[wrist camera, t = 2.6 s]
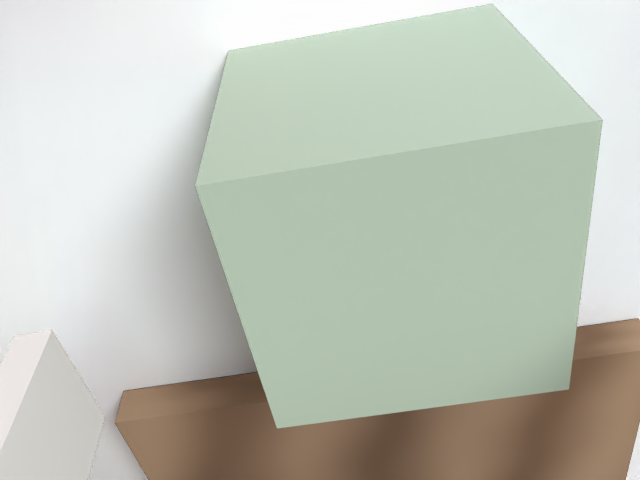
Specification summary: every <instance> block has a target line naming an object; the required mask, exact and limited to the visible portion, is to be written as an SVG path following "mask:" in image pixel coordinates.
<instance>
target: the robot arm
mask: <svg viewBox="0 0 640 480" xmlns="http://www.w3.org/2000/svg"><path fill="white" fill-rule="evenodd" d="M104 421H105V416H104V414H103V413H102V411H101V409H100V408H99V406H98V404H97V403H96V401H95V399H94V398H93V396H92V395H91V393H90V391H89V390H88V388H87V386H86V385H85V383H84V381H83V380H82V378H81V376H80V375H79V373H78V371H77V370H76V368H75V366H74V365H73V363H72V362H71V360H70V358H69V357H68V355H67V353H66V352H65V350H64V348H63V347H62V345H61V343H60V342H59V340H58V338H57V337H56V335H55V333H54V332H53V330H47V331H41V332H35V333H29V334H22V335H16V336H14V337H13V339H12V341H11V344H10V346H9V348H8V350H7V352H6V354H5V356H4V358H3V360H2V362H1V364H0V480H88V478H89V474H90V471H91V467H92V464H93V460H94V456H95V453H96V449H97V446H98V442H99V439H100V435H101V431H102V428H103V424H104Z"/></svg>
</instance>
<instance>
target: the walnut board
mask: <svg viewBox="0 0 640 480" xmlns="http://www.w3.org/2000/svg"><path fill="white" fill-rule="evenodd" d="M639 423H640V320H639V319H631V320H624V321H617V322H610V323H603V324H595V325H588V326H581V327H577V329H576V337H575V345H574V353H573V361H572V369H571V376H570V384H569V390H561V391H554V392H546V393H539V394H531V395H524V396H516V397H509V398H501V399H494V400H486V401H479V402H472V403H464V404H457V405H449V406H442V407H434V408H427V409H419V410H412V411H404V412H397V413H389V414H382V415H374V416H367V417H360V418H352V419H345V420H337V421H330V422H322V423H315V424H307V425H300V426H292V427H285V428H277V427H276V424H275V421H274V418H273V415H272V412H271V409H270V406H269V403H268V400H267V397H266V394H265V391H264V388H263V385H262V382H261V380H260V377H259V374H258V372H255V373H248V374H241V375H234V376H227V377H220V378H213V379H206V380H199V381H191V382H184V383H177V384H170V385H163V386H156V387H149V388H142V389H135V390H128V391H123V395H122V399H121V402H120V406H119V409H118V413H117V416H116V420H115V424H116V426H117V427H118V429H119V431H120V432H121V434H122V436H123V438H124V439H125V441H126V443H127V444H128V446H129V448H130V449H131V451H132V453H133V454H134V456H135V458H136V459H137V461H138V463H139V464H140V466H141V468H142V469H143V471H144V473H145V474H146V476H147V478H148V479H149V480H626V476H627V472H628V468H629V464H630V460H631V456H632V452H633V447H634V443H635V439H636V435H637V431H638V427H639Z"/></svg>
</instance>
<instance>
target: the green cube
mask: <svg viewBox="0 0 640 480" xmlns="http://www.w3.org/2000/svg"><path fill="white" fill-rule="evenodd" d="M602 121H603V119H602V118H601V117H600V116H599V115H598V114H597V113H596V112H595V111H594V110H593V109H592V108H591V107H590V106H589V105H588V103H587V102H586V101H585V100H584V99H583V98H582V97H581V96H580V95H579V94H578V93H577V92H576V91H575V90H574V89H573V88H572V87H571V86H570V85H569V84H568V82H567V81H566V80H565V79H564V78H563V77H562V76H561V75H560V74H559V73H558V72H557V71H556V70H555V69H554V68H553V67H552V66H551V65H550V64H549V63H548V61H547V60H546V59H545V58H544V57H543V56H542V55H541V54H540V53H539V52H538V51H537V50H536V49H535V48H534V47H533V46H532V45H531V44H530V43H529V42H528V40H527V39H526V38H525V37H524V36H523V35H522V34H521V33H520V32H519V31H518V30H517V29H516V28H515V27H514V26H513V25H512V24H511V23H510V22H509V20H508V19H507V18H506V17H505V16H504V15H503V14H502V13H501V12H500V11H499V10H498V9H497V8H496V7H495V6H494V5H493V4H487V5H482V6H476V7H470V8H465V9H459V10H454V11H448V12H442V13H437V14H431V15H426V16H420V17H414V18H409V19H403V20H397V21H392V22H386V23H381V24H375V25H369V26H364V27H358V28H353V29H347V30H341V31H336V32H330V33H324V34H319V35H313V36H308V37H302V38H296V39H291V40H285V41H280V42H274V43H268V44H263V45H257V46H252V47H246V48H240V49H235V50H229V51H228V55H227V59H226V63H225V67H224V71H223V75H222V79H221V83H220V87H219V91H218V95H217V100H216V104H215V108H214V112H213V116H212V120H211V124H210V128H209V132H208V136H207V140H206V144H205V148H204V152H203V156H202V160H201V164H200V168H199V172H198V176H197V180H196V184H195V187H196V190H197V193H198V196H199V199H200V202H201V205H202V208H203V211H204V214H205V217H206V220H207V223H208V226H209V229H210V232H211V235H212V238H213V241H214V243H215V246H216V249H217V252H218V255H219V258H220V261H221V264H222V267H223V270H224V273H225V276H226V279H227V282H228V285H229V288H230V291H231V294H232V297H233V300H234V303H235V306H236V309H237V311H238V314H239V317H240V320H241V323H242V326H243V329H244V332H245V335H246V338H247V341H248V344H249V347H250V350H251V353H252V356H253V359H254V362H255V365H256V368H257V371H258V374H259V377H260V380H261V382H262V385H263V388H264V391H265V394H266V397H267V400H268V403H269V406H270V409H271V412H272V415H273V418H274V421H275V424H276V427H277V428H285V427H292V426H300V425H307V424H315V423H322V422H330V421H337V420H345V419H352V418H360V417H367V416H374V415H382V414H389V413H397V412H404V411H412V410H419V409H427V408H434V407H442V406H449V405H457V404H464V403H472V402H479V401H486V400H494V399H501V398H509V397H516V396H524V395H531V394H539V393H546V392H554V391H561V390H569V384H570V376H571V369H572V361H573V353H574V345H575V337H576V329H577V321H578V313H579V305H580V297H581V289H582V281H583V273H584V265H585V257H586V249H587V241H588V233H589V225H590V217H591V209H592V201H593V193H594V185H595V177H596V169H597V161H598V153H599V145H600V137H601V129H602Z"/></svg>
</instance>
